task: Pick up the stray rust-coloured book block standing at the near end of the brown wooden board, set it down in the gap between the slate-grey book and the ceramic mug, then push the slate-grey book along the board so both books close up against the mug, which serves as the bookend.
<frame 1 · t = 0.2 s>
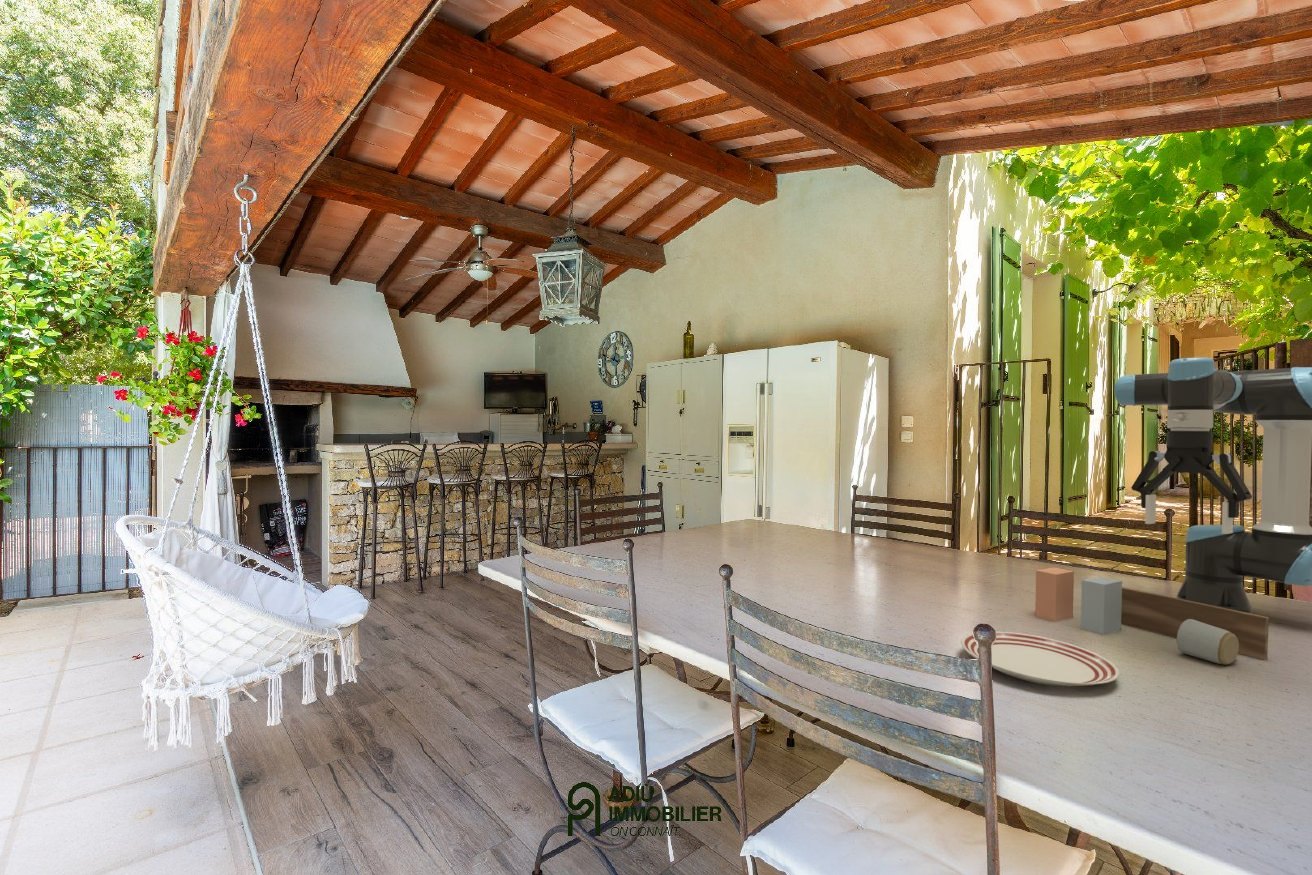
hand: (1186, 528, 133), 28 cm above the table, fingers open, 13 cm apart
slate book: (1100, 629, 150), on the table
brown wooden board: (1175, 636, 145), on the table
rust book: (1054, 616, 160), on the table
dinner plate: (1035, 669, 126), on the table
ceramic mug: (1209, 659, 132), on the table
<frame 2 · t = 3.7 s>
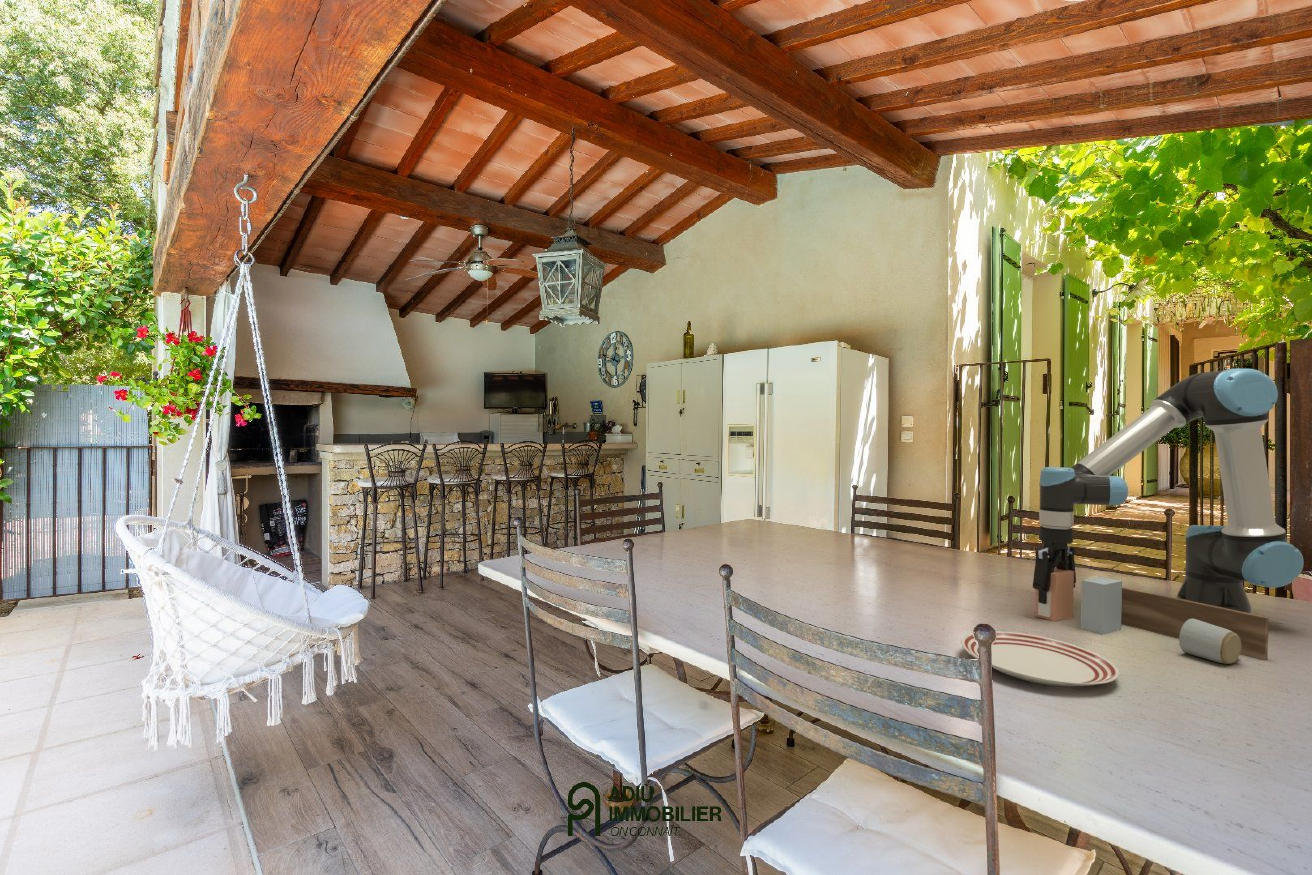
hand: (1054, 613, 160), 1 cm above the table, fingers closed on rust book, 8 cm apart
rust book: (1054, 616, 160), on the table, touching gripper
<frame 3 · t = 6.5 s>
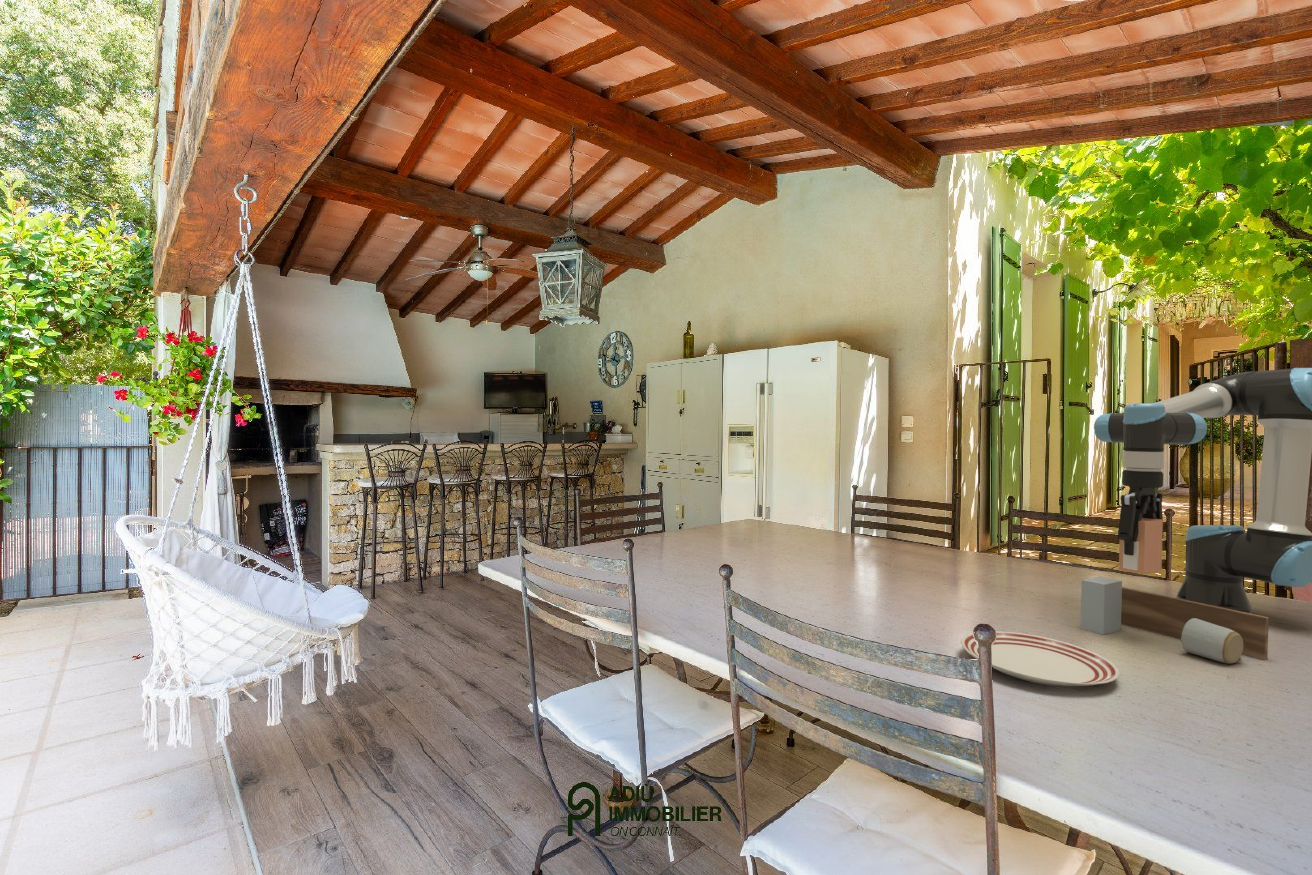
hand: (1140, 567, 143), 17 cm above the table, fingers closed on rust book, 8 cm apart
rust book: (1140, 570, 143), point 16 cm above the table, touching gripper
when the fingers open (2 cm above the table, at t = 9.5 s): rust book drops 1 cm, on the table.
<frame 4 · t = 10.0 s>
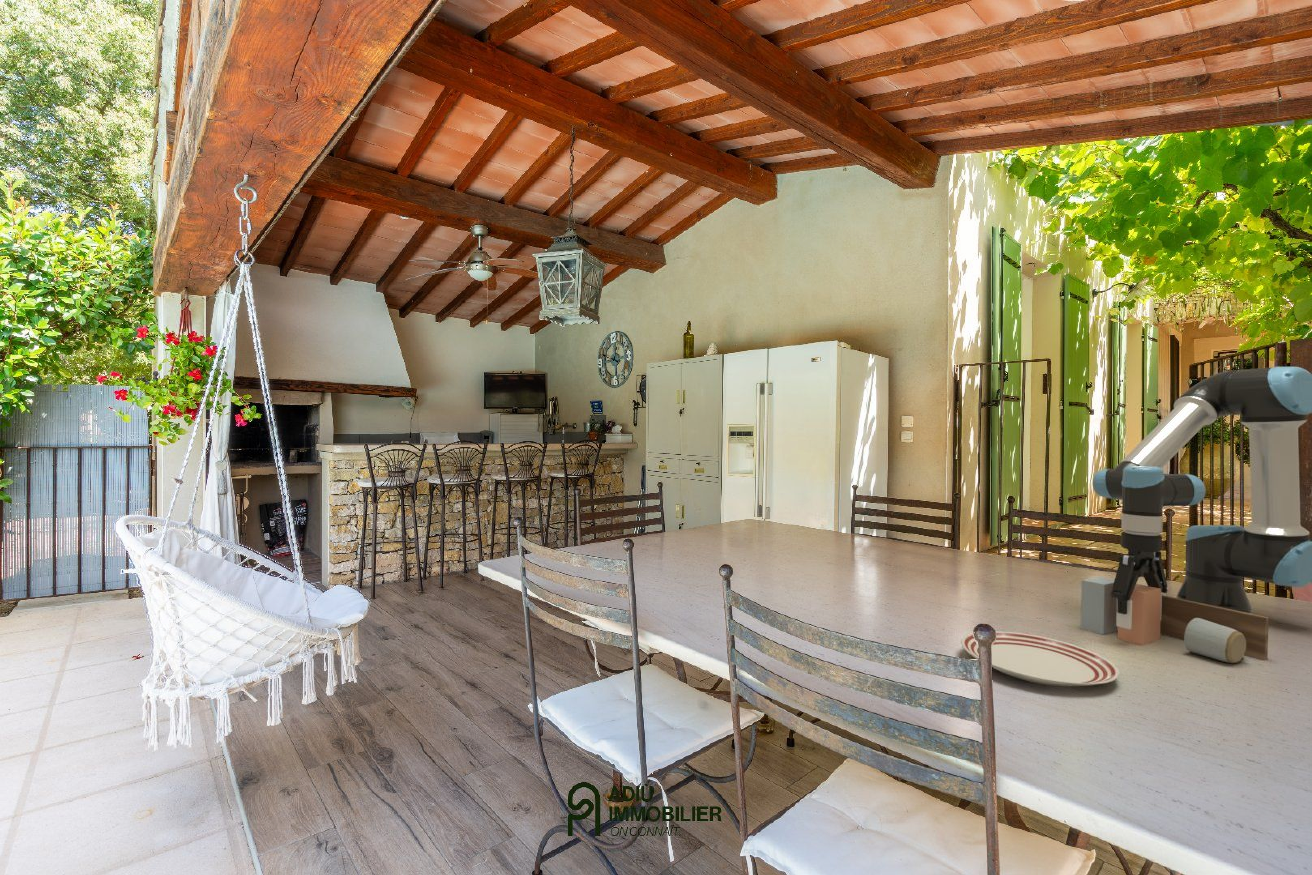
hand: (1139, 623, 143), 4 cm above the table, fingers open, 13 cm apart
rust book: (1138, 639, 143), on the table
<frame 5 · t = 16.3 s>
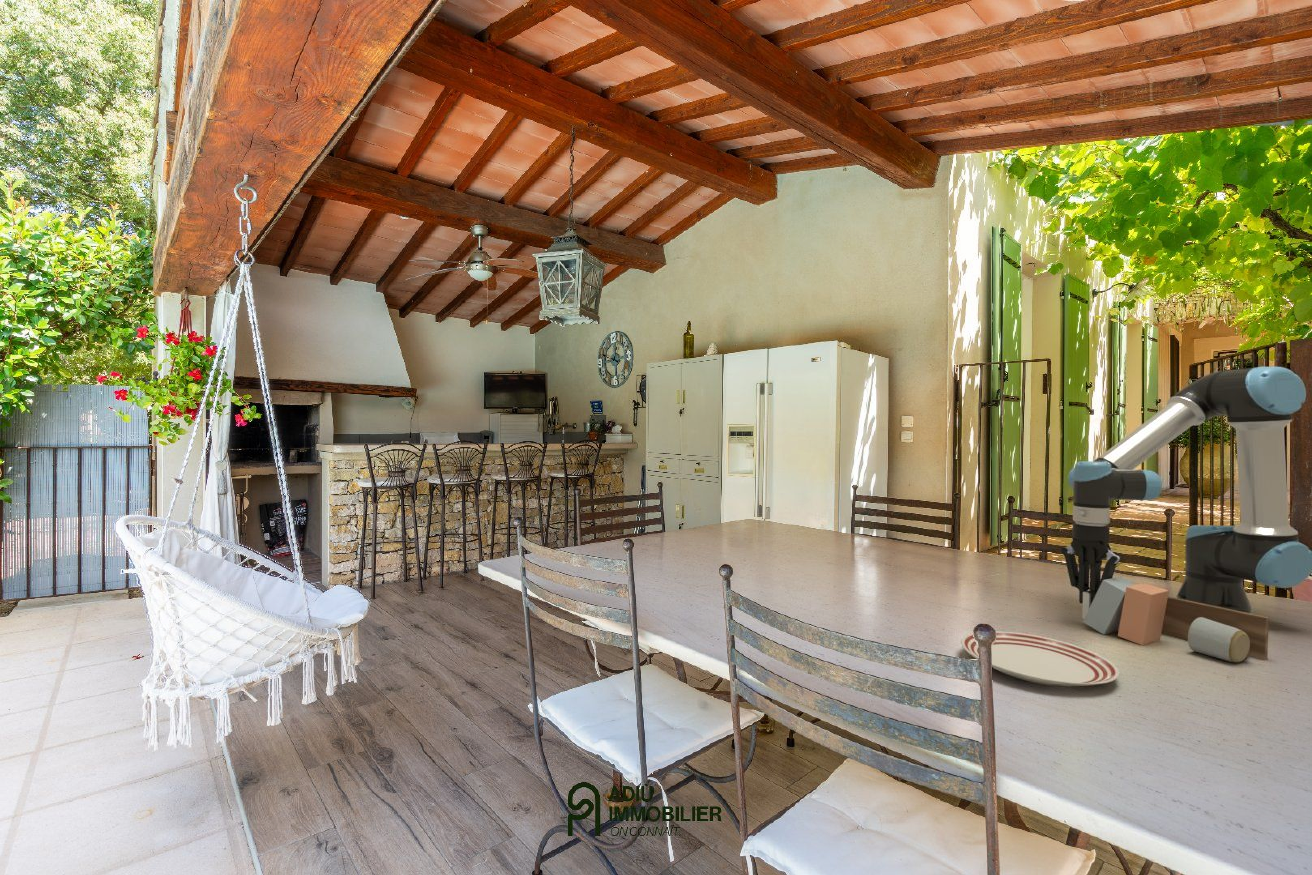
hand: (1088, 617, 153), 2 cm above the table, fingers closed
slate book: (1102, 625, 150), point 1 cm above the table, tilted 21°, touching gripper
rust book: (1138, 637, 143), on the table, tilted 7°
ceramic mug: (1220, 657, 133), on the table
everything else where it was.
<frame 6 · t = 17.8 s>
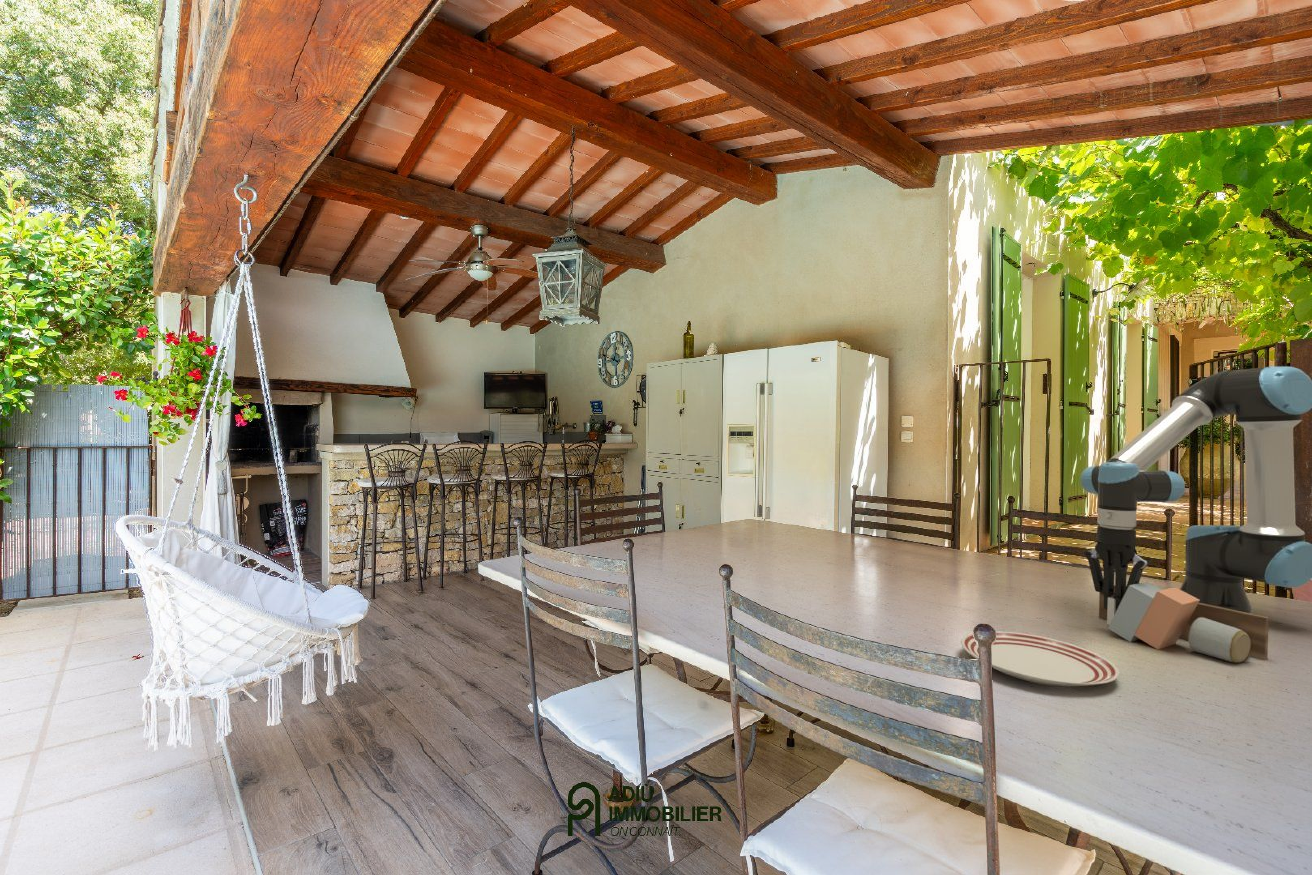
hand: (1113, 624, 148), 2 cm above the table, fingers closed
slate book: (1127, 632, 145), point 1 cm above the table, tilted 21°, touching gripper, hand, rust book
rust book: (1154, 639, 140), point 1 cm above the table, tilted 21°, touching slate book
everything else where it was.
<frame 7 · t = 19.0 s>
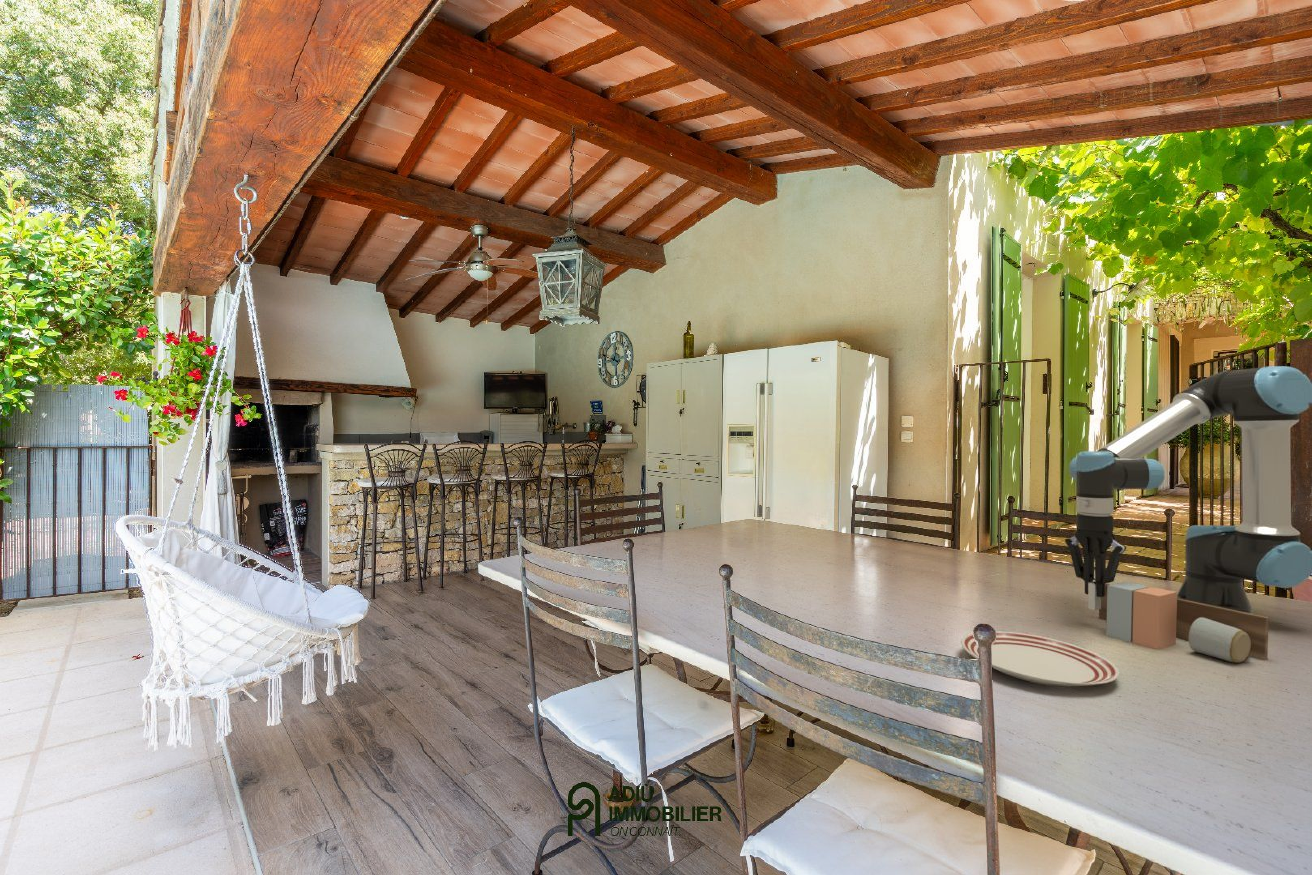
hand: (1094, 608, 152), 4 cm above the table, fingers closed
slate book: (1127, 636, 145), on the table
rust book: (1154, 643, 141), on the table
everything else where it was.
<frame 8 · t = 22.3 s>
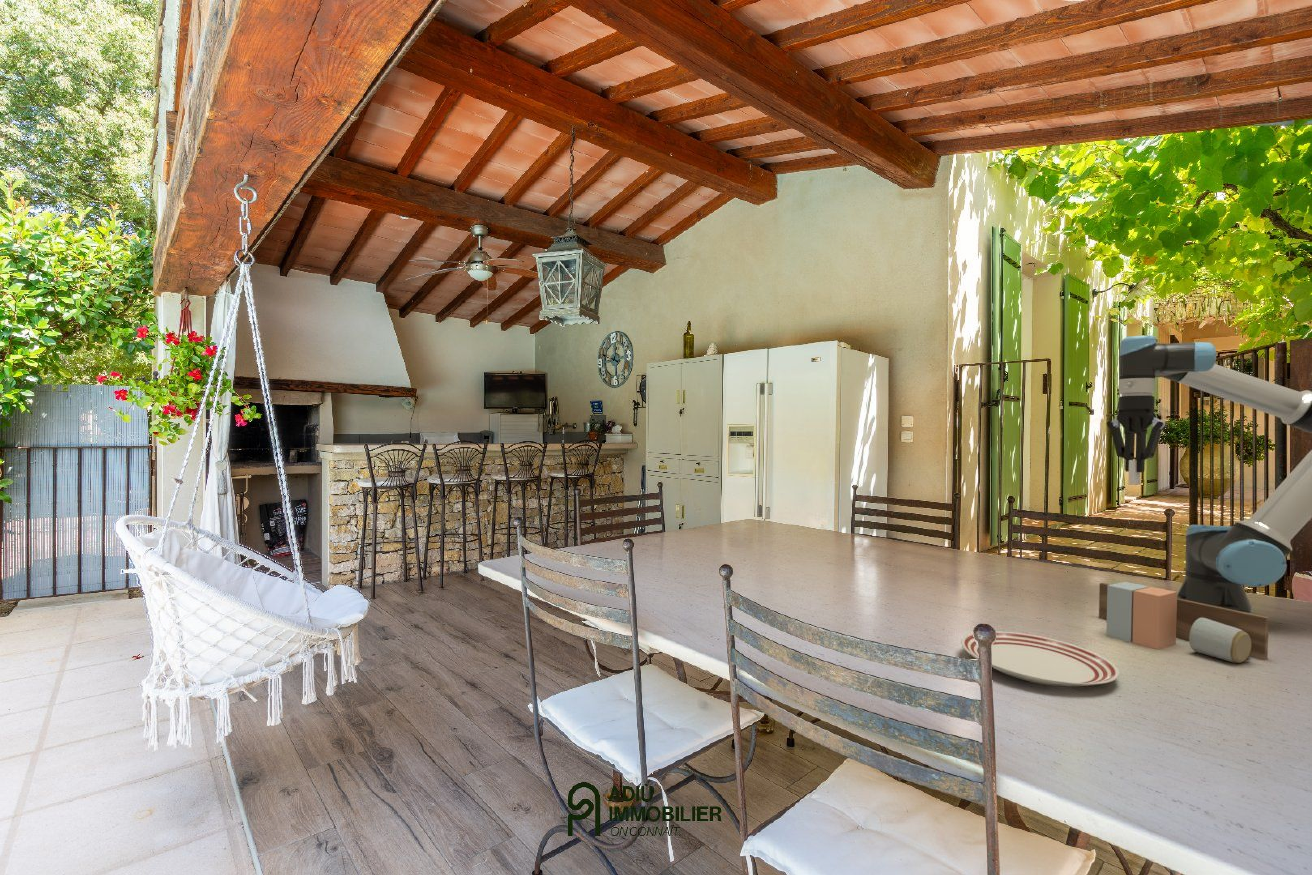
hand: (1134, 484, 162), 34 cm above the table, fingers closed
nothing on the table moved.
at the end: rust book inside the target area (0.8 cm from its centre), on the table; rust book tilted 0°; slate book moved 5.7 cm from its start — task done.
